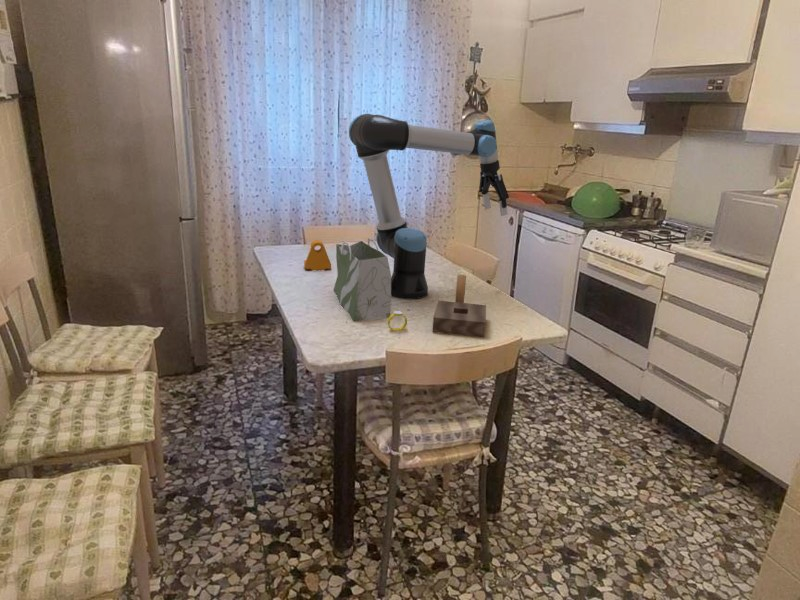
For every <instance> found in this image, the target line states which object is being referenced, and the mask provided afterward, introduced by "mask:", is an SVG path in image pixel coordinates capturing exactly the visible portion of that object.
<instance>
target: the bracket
mask: <svg viewBox="0 0 800 600" xmlns="http://www.w3.org/2000/svg"><path fill="white" fill-rule="evenodd" d="M317 246H320V248H319V249H316V247H317ZM303 264H304V265H303V266H304V269H305V270H311V271H312V270H324V271H326V270H327V269H328V270H329V269H332V263H331V260H330V259H329V256H328V252H327V251H326V248H325V245H324V243H323V241H321V240H317V239H316V240H313V241H311V244H310V249H309V252H308V254H307V257H306V259H305V260H303Z"/></svg>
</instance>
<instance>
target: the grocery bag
mask: <svg viewBox="0 0 800 600" xmlns="http://www.w3.org/2000/svg"><path fill="white" fill-rule="evenodd" d="M370 242H372V243H373V244H374V245H375V248H373V246H371V245H370ZM335 250H336V251H335V253H336V256H335V257H336V258H335V259H336V269H337V271H336V273H337V277H336V280H335V283H334V287H333V290H334V291H333V292H334V294H335V296H336V295H337V296H336V298H337V297H338V298H337V301H338V300H339V301H338V304H339V303H340V304H339V306H340V305H341V306H342V307H343V308H342V307H341V308H342V309H343V310H344V311H346V312H347V313H348V315H349V314H350V315H349V317H350V316H351V317H350V319H351V320H352V322H353V321H354V322H361V321H369V320H381V319H388V318H389V317H390V315H391V307H392V304H391V303H392V295H391V277H392V273H391V268H390V262H389V259H388V255H387V254H385V253H384V252H382V251H380V250H379V246H378V244H377V241H375V239H373V238H371V237H368V239H367V243H365V242H364V241H362V240H361V241H358V242H356V243H353V244H352V245H350V243H349V242H347V241H346V240H345V241H343V242H342V243H341V244H339V243H336V249H335Z"/></svg>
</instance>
